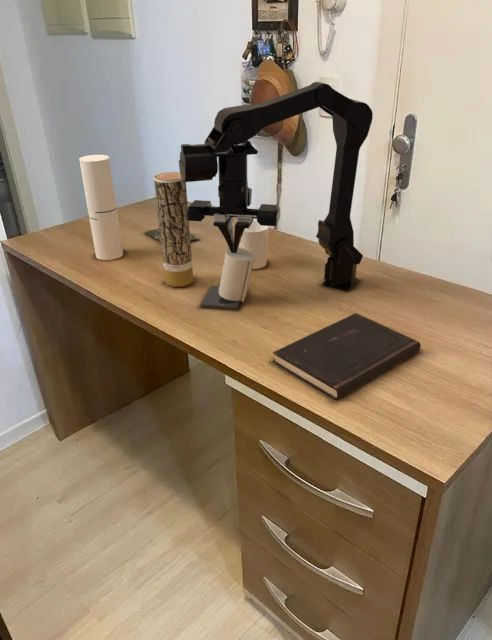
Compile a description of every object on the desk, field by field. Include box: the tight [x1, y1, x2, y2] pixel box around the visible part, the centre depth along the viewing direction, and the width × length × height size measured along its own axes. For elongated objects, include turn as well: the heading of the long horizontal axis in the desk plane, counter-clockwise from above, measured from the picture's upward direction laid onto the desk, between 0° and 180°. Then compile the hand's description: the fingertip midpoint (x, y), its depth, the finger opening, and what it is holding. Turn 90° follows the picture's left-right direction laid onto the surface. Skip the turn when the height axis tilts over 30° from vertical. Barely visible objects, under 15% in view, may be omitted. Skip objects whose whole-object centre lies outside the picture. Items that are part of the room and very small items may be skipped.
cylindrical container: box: [78, 154, 124, 261], centre depth 142 cm, size 7×7×25 cm
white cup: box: [238, 220, 270, 270], centre depth 139 cm, size 8×8×10 cm
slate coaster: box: [200, 285, 242, 311], centre depth 125 cm, size 8×10×1 cm
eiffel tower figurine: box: [144, 228, 198, 242], centre depth 156 cm, size 15×10×13 cm
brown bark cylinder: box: [153, 171, 194, 288], centre depth 127 cm, size 7×7×25 cm
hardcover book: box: [272, 312, 422, 400], centre depth 103 cm, size 16×23×2 cm
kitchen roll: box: [218, 248, 255, 303], centre depth 122 cm, size 10×6×6 cm
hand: (234, 252), depth 119 cm, fingers closed
